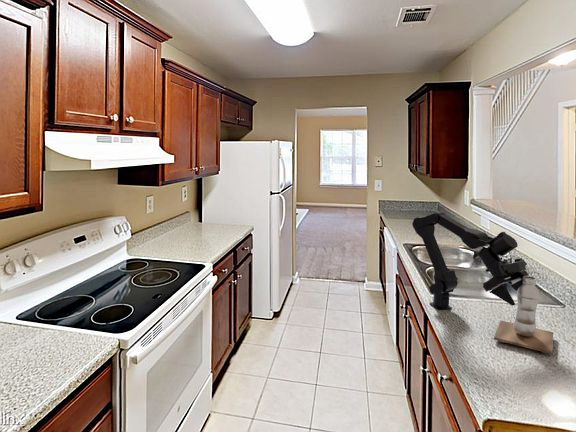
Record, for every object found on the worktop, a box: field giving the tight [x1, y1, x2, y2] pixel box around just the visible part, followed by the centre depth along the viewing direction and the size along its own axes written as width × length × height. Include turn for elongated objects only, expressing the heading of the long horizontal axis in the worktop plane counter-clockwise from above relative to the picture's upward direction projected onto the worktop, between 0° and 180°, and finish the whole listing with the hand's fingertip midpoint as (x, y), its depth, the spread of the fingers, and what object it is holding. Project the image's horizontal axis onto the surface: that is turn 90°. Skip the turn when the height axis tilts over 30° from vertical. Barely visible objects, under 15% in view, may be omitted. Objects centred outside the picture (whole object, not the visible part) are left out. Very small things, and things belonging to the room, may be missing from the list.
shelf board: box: [493, 320, 554, 355], centre depth 128 cm, size 16×16×2 cm
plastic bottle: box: [513, 275, 540, 337], centre depth 126 cm, size 6×7×20 cm
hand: (521, 302), depth 128 cm, fingers open, 9 cm apart
